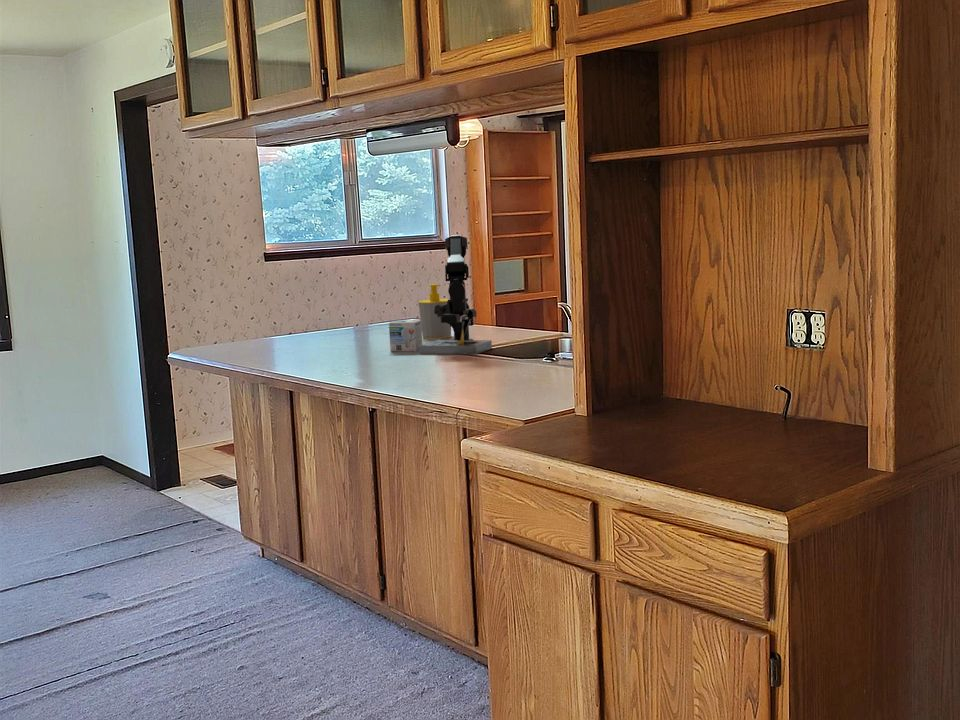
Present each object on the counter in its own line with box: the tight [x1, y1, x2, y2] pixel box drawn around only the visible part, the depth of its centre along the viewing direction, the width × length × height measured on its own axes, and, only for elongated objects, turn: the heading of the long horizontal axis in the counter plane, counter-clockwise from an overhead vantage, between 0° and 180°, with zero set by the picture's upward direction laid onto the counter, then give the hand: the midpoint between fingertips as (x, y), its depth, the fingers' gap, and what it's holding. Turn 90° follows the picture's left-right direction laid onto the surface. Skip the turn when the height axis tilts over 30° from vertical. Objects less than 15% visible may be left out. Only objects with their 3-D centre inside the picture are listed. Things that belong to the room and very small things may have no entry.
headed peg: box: [457, 331, 464, 344], centre depth 339 cm, size 4×4×9 cm
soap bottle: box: [418, 283, 452, 340], centre depth 381 cm, size 13×13×21 cm
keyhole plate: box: [419, 339, 493, 355], centre depth 340 cm, size 14×22×3 cm, turn 67°
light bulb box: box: [388, 319, 424, 352], centre depth 349 cm, size 11×7×11 cm, turn 73°
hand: (460, 339), depth 339 cm, fingers closed on headed peg, 2 cm apart
